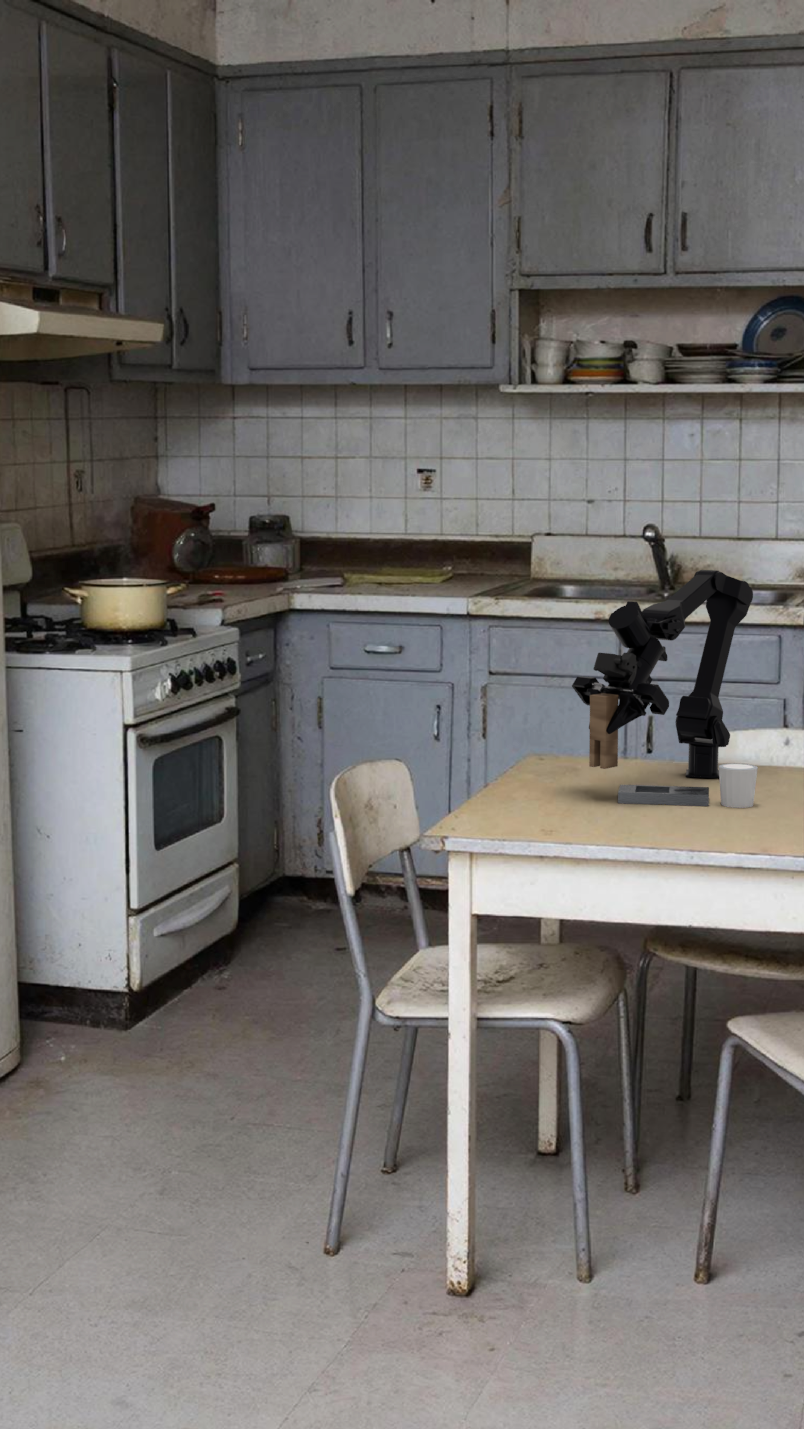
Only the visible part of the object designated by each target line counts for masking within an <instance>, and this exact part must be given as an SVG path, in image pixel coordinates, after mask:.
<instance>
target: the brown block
mask: <svg viewBox="0 0 804 1429" xmlns="http://www.w3.org/2000/svg"><path fill="white" fill-rule="evenodd" d="M618 705H619V700H618V695H614V694H606V693H600V694H594V695H590V706H589V723H590V729H589V752H588V753H589V762H588V763H589V764H588V765H589V766H588V767H590V768H597V767H599V769H603V770H606V769H611V768H616V767H617V768H618V765H619V763H618V762H619V761H618V760H619V758H618V757H619V754H618V753H619V748H618V747H619V729H617V730H616V731H614V732H613V733H611V734H608V733H607V732H606V729H607V726H608V724H609V722H610V720H611V718H612V716H613V715H614V713H615V711H616V709H617V707H618Z"/></svg>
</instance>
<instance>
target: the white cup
mask: <svg viewBox="0 0 804 1429" xmlns="http://www.w3.org/2000/svg"><path fill="white" fill-rule="evenodd" d="M718 770H719V778H718V779H719V791H720V792H719V793H720V804H721V806H723V807H727V808H733V809H735V808H736V809H745V808H752V807H753V806H754V802H755V801H754V800H755V793H756V792H755V791H756V784H757V777H758V766H757V765H754V764H748V763H741V762H740V763H735V762H734V763H723V764H718Z"/></svg>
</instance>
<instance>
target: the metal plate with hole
mask: <svg viewBox="0 0 804 1429" xmlns="http://www.w3.org/2000/svg"><path fill="white" fill-rule="evenodd" d="M709 801H710V787H709V786H686V785H685V786H682V785H681V786H680V785H678V786H677V785H676V786H675V785H653V784H652V785H651V784H650V785H649V784H648V785H647V784H645V785H644V784H619V787H618V791H617V804H630V805H633V804H634V805H658V804H660V805H661V804H662V805H664V804H666V805H665V806H691V807H692V806H694V807H697V806H698V807H709V806H710V804H709V803H710V802H709Z"/></svg>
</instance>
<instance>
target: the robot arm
mask: <svg viewBox="0 0 804 1429" xmlns="http://www.w3.org/2000/svg"><path fill="white" fill-rule="evenodd" d="M753 598H754V591H753V588H752V587H751V586H750V584H749V583H748V582H747V581H745V580H740V579H738V578H735V577H732V576H729V575H726V574H725V573H723V572H721V571H720V570H715V569H714V570H713V569H710V570H709V569H700V570H698V571H697V570H696V572H695V573H694V576H693V577H692V578H691V579H690V580H689V581H687V582H686V583H685V584H684V585H682V587H680V588H679V589H678V590H677V591H676V592H674V594H672V595H671V596H670V597H669V598H668V599H666V600H664V601H661V602H657V603H653V604H651V605H649V606H647V607H645V608H644V609H641V607H640V605H639V603H638V602H637V601H627V602H626V604H625V605H622V606H620V607H619V608H616V609H615V611H613V612H611V613H610V615H609V617H608V625H609V626H610V628H611V629H612V631H613V633H614V634H615V636H616V637H617V639H618V641H619V642H620V644H621V646H622V647H624V648H626V649H628V650H627V652H623V654H615V653H607V652H598V653H597V656H596V659H595V662H594V665H593V671H596V672H597V671H598V673H601V674H603V677H602V679H603V680H604V682H605V683H607V684H608V685H605V684H603V683H601V682H600V681H599V680H598V679H597V677H593V676H585V675H583V676H582V675H581V676H580V675H579V676H577V677H575V680H574V681H573V683H572V685H571V688H572V689H573V691H574V692H575V693H576V694H577V696H578V697H579V699H580V701H582V703H583V704H585V705H586V706H589V707H590V695H594V694H600V693H606V694H614V695H618V707H617V709H616V711H615V713H614V715H613V716H612V718H611V720H610V722H609V724H608V726H607V729H606V732H607V733H608V734H611V733H613V732H614V731H616V730H617V729H618V730H619V729H621V728H623V727H624V726H625V725H627V724H629V723H631V722H633V721H634V720H636V719H638V718H640V717H645V716H646V715H647V712H646V709H647V708H648V706H649V710H650V712H651V713H652V714H653V715H654V714H655V715H660V716H661V715H663V716H664V715H666V713H667V711H668V710H669V707H670V700H669V699H668V697H667V695H666V694H665V693H664V691H663V690H662V688H661V686H660V685H659V684H658V683H657V684H655V683H652V681H653V678H652V677H651V674H652V672H653V671H654V669H655V667H656V665H657V664H658V662H659V661H660V662H667V661H668V653H667V652H666V651H667V650H666V648H667V647H666V645H665V646H664V645H662V643H661V642H660V641H671V642H672V641H674V640H676V639H677V638H679V636H680V634H681V633H682V632H683V630H685V628H686V619H687V618H688V617H689V616H690V615H692V614H693V613H694V612H695V611H696V610H697V609H698V608H700V606H701V605H702V604H704V603H705V608H706V611H707V614H708V616H709V620H710V621H709V625H708V629H707V633H706V638H705V642H704V645H703V650H702V654H701V657H700V662H699V666H698V670H697V673H696V679H695V682H694V687H693V690H692V691H691V692H690V693H689V694H688V695H682V696H681V698H680V699H679V706H678V710H677V712H676V714H675V716H676V718H675V728H676V733H677V739H678V743H679V744H687V745H688V763H687V764H688V765H687V767H688V768H686V770H685V777H686V778H702V779H703V778H705V779H706V778H707V779H708V778H709V779H719V748H725V747H727V746H729V744H730V738H731V733H730V731H729V730H728V728H727V726H726V725H725V723H724V721H723V716H724V709H723V707H722V704H721V700H720V698H719V697H720V691H721V687H722V683H723V679H724V675H725V670H726V667H727V662H728V660H729V655H730V650H731V646H732V642H733V638H734V637H733V636H734V634H735V629H736V627H737V626H738V625H739V624H740V623H741V622H742V621H743V620H744V619H745V617H747V615H748V611H749V609H750V606H751V603H752V602H753ZM588 729H589V730H590V722H589V724H588Z"/></svg>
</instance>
